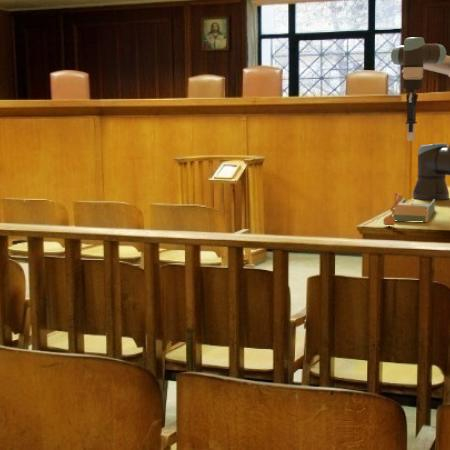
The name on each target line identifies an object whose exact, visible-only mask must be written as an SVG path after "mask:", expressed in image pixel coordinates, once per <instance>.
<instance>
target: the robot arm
mask: <svg viewBox="0 0 450 450" xmlns="http://www.w3.org/2000/svg"><path fill="white" fill-rule="evenodd" d="M390 53H391V54H390V59H391V62H392V63H393V64H395V65H396V66H397V65H399V66H402V65H403V66H402V67H403V68H402V69H401V73H402V78H403V80H402V87H401V88H402V90H408V91H407V92H408V93H407V94H406V121H405V124H406V125H407V128H406V141H409V142H415V135H416V134H415V133H416V124H418V122H417V119H416V118H417V105H418V98H419V94H418V93H417V90H422V89H423V85H424V84H423V83H424V81H423V78H424V70H427V71H431V72H436V73H439V74H443V75H446V76H448V77H449V78H450V55H447V50H446V48H445V46H444V45H442V44H439V43H426V42H425V38H424V37H417V36H416V37H407V38H404V42H403V45H398V46H395V47H394V48H392V50H391V52H390ZM446 176H450V144H449V145H448V144H447V143H445V142H443V143H433V144H422V145H420V146H419V148H418V153H417V180H416V182H415V185H414V188H413V191H412V198H414V199H415V200H416V199H417V200H426V201H433V199H435V201H442V200H443V201H444V200H447V199H449V198H450V192H449V188H448V184H447V181H446Z"/></svg>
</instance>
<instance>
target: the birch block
mask: <svg viewBox="0 0 450 450" xmlns="http://www.w3.org/2000/svg"><path fill="white" fill-rule="evenodd" d="M398 205H413V202H406V203H400V202H399V204H398Z"/></svg>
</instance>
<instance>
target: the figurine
mask: <svg viewBox="0 0 450 450" xmlns="http://www.w3.org/2000/svg"><path fill="white" fill-rule="evenodd" d="M393 196H394V197H393V198H394V203H393V204H392V205H391V206H390V208H389V210H390V211H391V214H389V215H388V214H387V215H386V216H384V218H383V225H384V226H385V225H393V226H395V225H396V222H395V218H394V217H393V214H394V211H395V210H394V208H395V207H396V206H397V205H398V204H399V203H400V202H401V201H402V200H403V194H402V193H398V192H397V191H395V192H394V194H393Z"/></svg>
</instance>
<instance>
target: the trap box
mask: <svg viewBox="0 0 450 450" xmlns="http://www.w3.org/2000/svg"><path fill="white" fill-rule="evenodd" d="M406 200H407V198H406V197H404V198H402V199H401V201H400V202H399V203H407V201H406ZM412 203H413V202H412ZM435 208H436V200H435V199H433V200H431V202H430V203H413V205H397V206H396V207H395V208H393V209H394V210H395V211H394V214H393V215H392V216H393V217H394V218H395V220H397V221H423V222H427V221H428V222H429V220H430V219H429V218H431V217H432V215H433V214H434V212H435V210H436V209H435ZM428 219H429V220H428ZM428 222H427V223H428Z"/></svg>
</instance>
